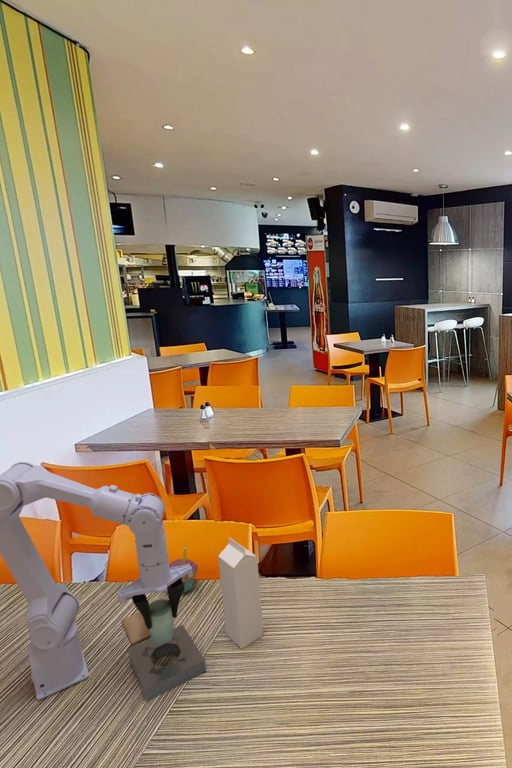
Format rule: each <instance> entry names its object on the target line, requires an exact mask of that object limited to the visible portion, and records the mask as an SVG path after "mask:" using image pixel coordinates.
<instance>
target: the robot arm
mask: <svg viewBox="0 0 512 768" xmlns="http://www.w3.org/2000/svg"><path fill="white" fill-rule="evenodd" d="M45 498H48V499H50V500H55V501H59V502H65V503H69V504H73V505H77V506H82V507H86V508H88V509H89V510H90V511H91V514H92V516H94V517H97V518H101V519H104V520H107V521H111V522H114V523H118V524H120V525H124V526H128V529H129V530H130V531H131V533H132V534H134V539H135V540H134V541H135V542H134V543H135V549H136V557H137V564H138V571H139V578H137V579H136V580H134V581H132V582H131V583H129V584H128V585H126V586H125V587H122V588H120V589H118V590H117V591H116V592H117V593H116V594H117V599H118V601H119V604H120V606H121V605H124V604H126V603H127V601H129V600H131V601H132V602H133V604H134V606H135V608H136V609H137V610H138V611H139V612H140V613H141V614H142V616H143V618H144V622H145V625H146V627H147V629H151V621H150V616H149V605H150V603H149V600H148V599H147V594H150V593H151V594H152V593H156V594H157V595H160V594H161V593H164V592H167V596H168V600H169V601H170V602H171V608H172V615H173V619H176V618H177V617H178V609H179V604H180V600H181V598H182V595H183V591H184V583H183V582H182V578H185V577H187V578H190V577H193V573H192V567H191V566H190V565H189V564H186V565H182V566H177V567H171V568H169V564H170V561H169V553H168V545H167V534H166V532H165V524H164V520H163V518H164V514H165V512H166V511H165V510H166V509H165V508H166V506H165V502H164V501H163V499H162V498H161V497H160V496H158V495H156V494H155V493H150V492H148V493H144V494H141V493H136V494H135V493H131V492H127V491H125V490H122V489H121V490H120V489H119V487H118V486H117V485H113V484H111V485H110V486H108V485H103V486H101V487H99V488H93V487H91V486H88V485H85V484H82V483H80V482H77V481H74V480H72V479H69V478H66V477H64V476H61V475H58V474H56V473H53V472H50V471H49V470H48V469H46V468H45V467H44V466H42V465H37V464H35V465H34V464H33V463H31V462H28V461H19V462H16V463H14V464H13V465H12V466H11V467H10V468H8V469H7V470H6V471H4V472H2V473H1V474H0V556H1V557H2V559H3V561H4V563H5V564H6V567H7V568H8V570H9V572H10V574H11V576H12V578H13V579H14V581H15V582H16V584H17V586H18V588H19V590H20V591H21V593H22V595H23V597H24V598H25V600H26V602H27V606H26V607H27V608H26V612H25V613H26V615H25V623H26V626H27V627H28V631H29V632H28V633H29V634H28V635H29V636H28V637H29V640H30V643H29V644H28V645H27V652H28V659H29V664H30V665H29V666H30V670H31V673H30V679H31V683H33V684H34V690H35V696H36V700H37V701H40V700H42V699H44V698H47V697H49V696H51V695H54V694H55V693H58V692H59V691H62V690H64V689H66V688H69V687H71V686H73V685H75V684H77V683H79V682H82V681H84V680H86V679H88V678H89V677H90V674H89V670H88V666H87V663H86V660H85V655H84V653H83V651H82V646H81V642H80V633H79V629H78V624H77V619H76V615H77V614H78V612H79V610H80V600H79V599H78V597H77V595H75V594H73V592H71V591H69V589H68V587H67V586H66V584H64V583H56V582H55V580H54V578H53V576H52V574H51V573H50V570H49V569H48V567H47V565H46V563H45V562H44V560H43V558H42V556H41V555H40V552H39V551H38V549H37V547H36V545H35V543H34V541H33V539H32V538H31V536H30V533H28V531H27V529H26V526H25V525H24V523H23V521H22V520H21V517H20V515H21V513H22V510H23V508H24V507H25V506H26V505H27V506H28V505H30V504H33V503H35V502H37V501H40V500H43V499H45Z"/></svg>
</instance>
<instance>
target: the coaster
mask: <svg viewBox="0 0 512 768" xmlns="http://www.w3.org/2000/svg"><path fill="white" fill-rule="evenodd" d="M120 621H121V623H122V625H123V628H124V630H125V633H126V635H127V637H128V639H129V641H130V644H131V647H134V646H136V645H138V644H141V643H143V642H145V641H147V640H149V639H151V632H150V629H147V627H146V625H145V622H144V618H143V616H142V614H141V613H140V611H139V612H137V613H134V614H132V615H128V616H127V617H125V618H122V619H121V620H120Z"/></svg>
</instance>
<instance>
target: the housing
mask: <svg viewBox="0 0 512 768" xmlns="http://www.w3.org/2000/svg"><path fill="white" fill-rule="evenodd" d="M174 631H175V635H174V637H173V639H172V640H171V641H169V642H167V643H165V644H155V643H153V642H152V639H151V638H149V639H147V640H144V641H142V642H140V643H138V644H135V645H133V646H131V647H130V648H128V649H127V651H128V656H129V658H128V659H129V661H130V663H131V666H132V668H133V671H134V673H135V676H136V678H137V680H138V683H139V686H140V688H141V690H142V692H143V693H142V694H143V695H144V698H145V699H146V702H148V701H151V700H153V699H155V698H157V697H159V696H160V695H162V694H165V693H166V692H169V691H170V690H172V689H174V688H176V687H178V686H180V685H181V684H184V683H185V682H187V681H190V680H191V679H193V678H195V677H198V676H199V675H202V674H203V673H204V672H207V665H206V659H205V657H204V656H203V655H202V653H201V652H200V650H199V649H198V646H197V645H196V644H195V643H196V642H194V641H193V639H192V637H191V635H190V634H189V633H188V631H187V629H186V627H185V626H184V625H183V624H181V625H179V626H176V627H174ZM167 654H170V655H176V656H177V655H178V657H177V659H176V661H173V662H171V663H169V664H168V665H165V666H162V665H157V664H156V665H155V662H156V660H157V659H159V658H161V657H163V656H165V655H167Z"/></svg>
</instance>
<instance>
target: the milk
mask: <svg viewBox="0 0 512 768" xmlns="http://www.w3.org/2000/svg"><path fill="white" fill-rule="evenodd" d="M227 539H228V544H227V545H226V546H225V547H224V549H222V551H221V552H220V553H219V555H217V556H218V557H217V558H218V567H219V568H218V569H219V576H220V577H219V579H220V587H221V596H222V597H221V598H222V607H223V616H224V625H225V626H224V627H225V634H226V635H227V636H228V638H230V639H231V641H232V642H233V643H235V644H236V646H238V647H239V648H240V649H241V650H242V649H244V648H245V647H248V646H249V645H250V644H253V643H254V642H256V641H257V640H258V639H260V638H262V637H263V636H264V625H263V615H262V614H263V613H262V611H263V610H262V601H261V600H262V599H261V598H262V597H261V589H260V577H259V564H258V556H257V555H256V554H255V553H252V552H251V551H250V550H248V549H247V548H245V547H244V546H243V545H241V544H240V543H239V542H237V541H235V540H234V539H233V538H231V537H228V538H227Z"/></svg>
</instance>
